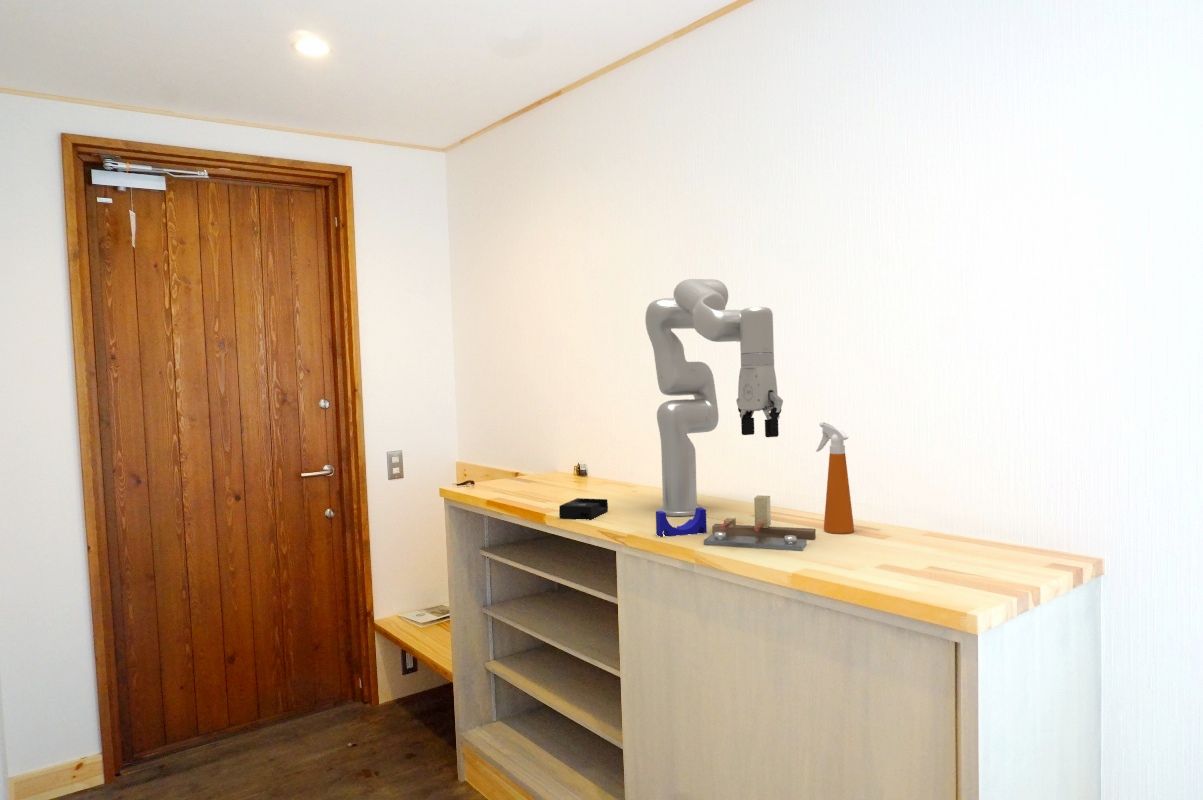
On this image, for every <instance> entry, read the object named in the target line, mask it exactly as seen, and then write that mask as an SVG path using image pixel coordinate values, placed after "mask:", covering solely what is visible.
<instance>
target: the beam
mask: <svg viewBox="0 0 1203 800" xmlns="http://www.w3.org/2000/svg"><path fill="white" fill-rule="evenodd" d="M736 519H737V517H729V516H727V517H726V518H724V519H723V523H714V524H713V525H712V526H711V529H712V534H714V533H715V532H726V535H735V536H753V537H771V538H784V536H788V535H792V536H796V539H807V540H811V541H812V540H813V541H815V538H816V536H817V535H816V533H817V532H816V528H809V527H808V528H806V527H787V526H771V525H770V526H769V527H768V528H761V529H760V530H759V531H754V527H755V525H749V524H737V521H736Z"/></svg>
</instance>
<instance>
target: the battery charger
mask: <svg viewBox="0 0 1203 800" xmlns="http://www.w3.org/2000/svg"><path fill="white" fill-rule="evenodd" d="M608 512H609V504H608V499H607V498H582V497H579V498H575V499H572V500H570V501H568V502H566V503H563V504H560V505H559V512H558V513H559V514H558V515H559V520H576V519H589V520H588V521H592V519H593V520H595V519H597V518H599V517H600V515H601V516H602V514H603V515H604V513H605V514H607V513H608ZM598 516H599V517H598ZM596 517H597V518H596ZM594 518H595V519H594Z"/></svg>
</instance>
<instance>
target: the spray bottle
mask: <svg viewBox="0 0 1203 800" xmlns="http://www.w3.org/2000/svg"><path fill="white" fill-rule="evenodd" d="M819 427H820V428H822V432H821V433H822V438H821V440H820V443H819V445H818V446H817V449H816V450H815V452H820V451H821V450H823V449H824V448H825V446H826V445H827V444H828V442H829V441H830V445H829V457H828V469H827V470H828V471H827V481H826V495H825V507H824V508H825V509H824V517H823V518H824V520H823V531H824V532H826V533H830V534H835V535H836V534H837V535H846V534H851V533H854V532H855V525H854V518H853V517H854V516H853V508H852V501H851V491H850V482H849V481H850V480H849V475H848V466H847V465H848V464H847V457H846V446H845V445H844V441H847V440H848V439H849V436H848V435H847V433H846V432H845V431H844V430H843V429H841V428H839V427H838V426H837V425H834V424H833V423H831V422H829V421H820V422H819Z"/></svg>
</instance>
